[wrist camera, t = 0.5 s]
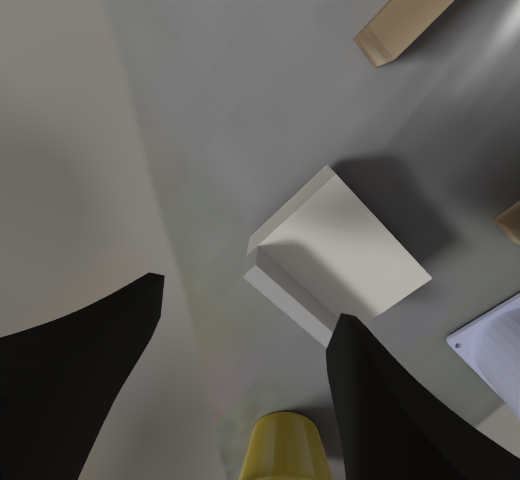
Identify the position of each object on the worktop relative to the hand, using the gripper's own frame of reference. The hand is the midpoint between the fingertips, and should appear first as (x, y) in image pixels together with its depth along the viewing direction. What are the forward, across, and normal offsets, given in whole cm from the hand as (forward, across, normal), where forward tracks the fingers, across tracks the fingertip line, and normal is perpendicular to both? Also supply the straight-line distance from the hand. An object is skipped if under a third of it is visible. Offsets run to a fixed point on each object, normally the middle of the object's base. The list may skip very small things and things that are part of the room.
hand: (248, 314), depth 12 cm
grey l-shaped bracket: (+10, -5, 0) cm, 11 cm away
